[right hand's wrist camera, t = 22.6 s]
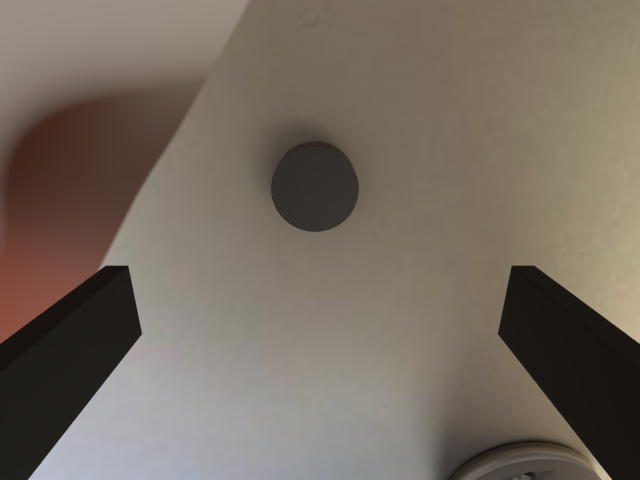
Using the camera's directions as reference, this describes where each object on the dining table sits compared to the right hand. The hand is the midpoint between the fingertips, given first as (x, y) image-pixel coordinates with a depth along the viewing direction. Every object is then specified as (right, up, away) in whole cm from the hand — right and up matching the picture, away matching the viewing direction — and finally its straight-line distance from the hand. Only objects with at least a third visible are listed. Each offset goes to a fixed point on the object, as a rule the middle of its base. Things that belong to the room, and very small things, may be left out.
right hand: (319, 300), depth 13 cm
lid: (0, +5, +10) cm, 11 cm away
